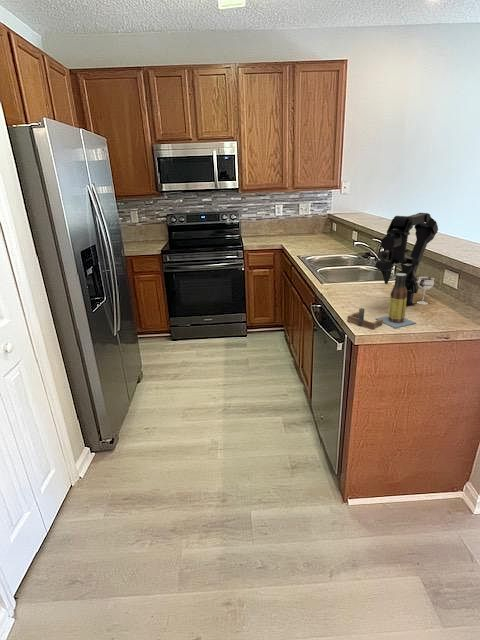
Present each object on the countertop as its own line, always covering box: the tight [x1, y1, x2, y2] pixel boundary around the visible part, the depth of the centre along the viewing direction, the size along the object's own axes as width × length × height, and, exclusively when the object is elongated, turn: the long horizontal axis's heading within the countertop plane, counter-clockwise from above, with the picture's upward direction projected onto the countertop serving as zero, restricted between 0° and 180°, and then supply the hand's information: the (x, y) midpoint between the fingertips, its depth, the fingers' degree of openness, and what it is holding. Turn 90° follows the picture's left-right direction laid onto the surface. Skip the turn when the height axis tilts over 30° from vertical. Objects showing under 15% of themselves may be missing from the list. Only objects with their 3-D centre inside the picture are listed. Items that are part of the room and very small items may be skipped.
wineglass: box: [416, 275, 435, 306], centre depth 171 cm, size 7×7×12 cm
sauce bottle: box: [388, 272, 407, 322], centre depth 149 cm, size 7×6×20 cm
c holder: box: [346, 308, 384, 330], centre depth 151 cm, size 8×12×7 cm, turn 41°
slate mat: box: [375, 315, 417, 329], centre depth 153 cm, size 11×11×1 cm
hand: (394, 282), depth 160 cm, fingers open, 9 cm apart
